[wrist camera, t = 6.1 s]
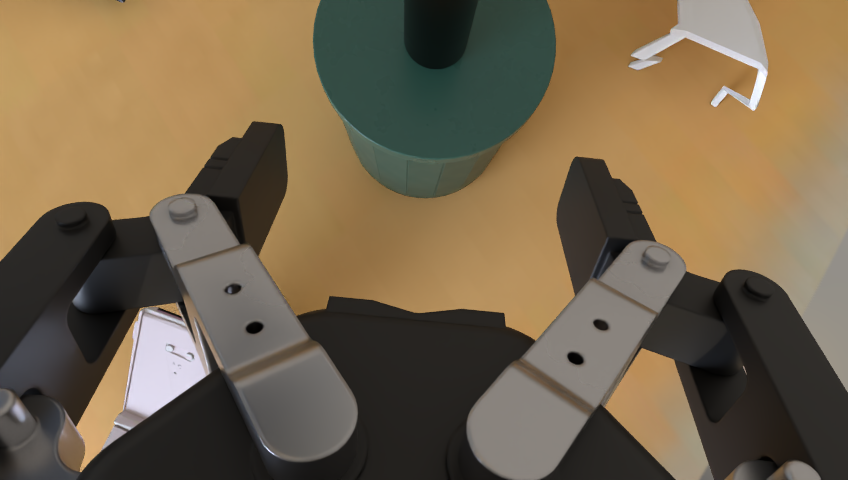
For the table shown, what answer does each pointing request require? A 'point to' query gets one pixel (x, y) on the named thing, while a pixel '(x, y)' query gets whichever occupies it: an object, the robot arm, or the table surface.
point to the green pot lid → (434, 71)
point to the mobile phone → (157, 367)
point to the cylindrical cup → (418, 171)
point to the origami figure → (716, 39)
